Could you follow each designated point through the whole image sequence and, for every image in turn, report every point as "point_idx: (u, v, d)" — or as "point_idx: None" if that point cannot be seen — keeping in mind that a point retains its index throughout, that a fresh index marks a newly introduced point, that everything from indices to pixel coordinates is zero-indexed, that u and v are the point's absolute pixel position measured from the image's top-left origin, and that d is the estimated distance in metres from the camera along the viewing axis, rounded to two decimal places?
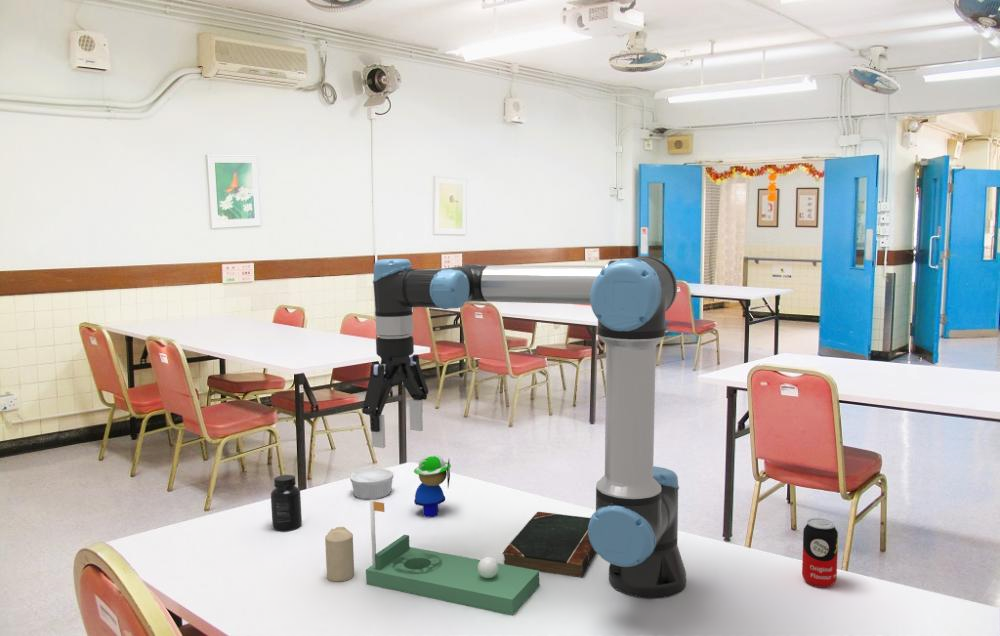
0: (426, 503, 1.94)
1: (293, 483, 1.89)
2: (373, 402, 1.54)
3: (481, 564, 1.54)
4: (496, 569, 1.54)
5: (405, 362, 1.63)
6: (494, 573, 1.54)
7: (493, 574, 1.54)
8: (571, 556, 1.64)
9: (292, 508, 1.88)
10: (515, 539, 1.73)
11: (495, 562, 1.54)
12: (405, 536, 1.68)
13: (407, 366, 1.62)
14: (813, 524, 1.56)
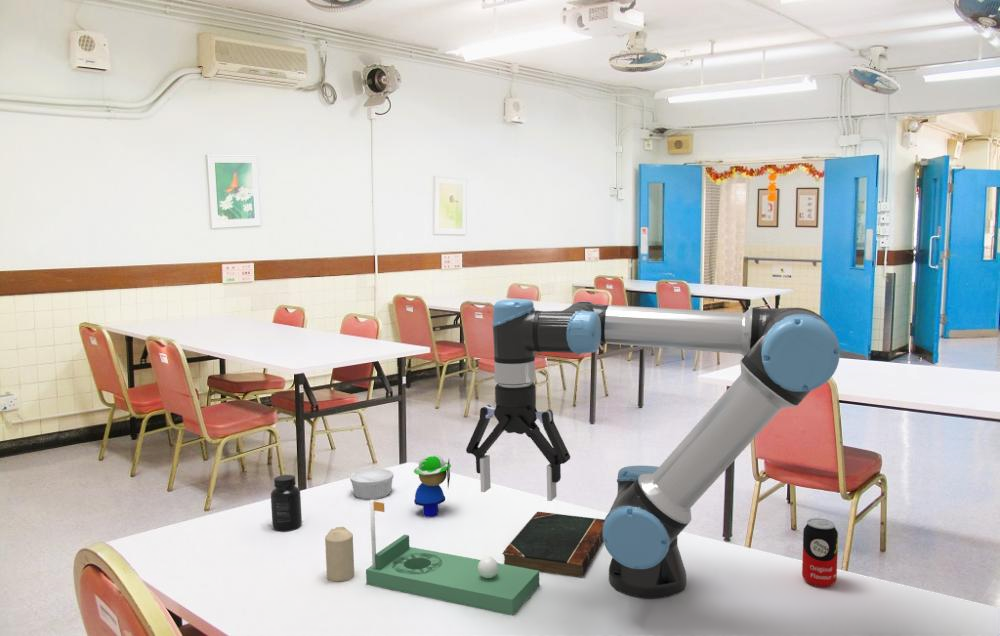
0: (426, 503, 1.94)
1: (293, 483, 1.89)
2: None
3: (481, 564, 1.54)
4: (496, 569, 1.54)
5: (522, 415, 1.47)
6: (494, 573, 1.54)
7: (493, 574, 1.54)
8: (571, 556, 1.64)
9: (292, 508, 1.88)
10: (515, 539, 1.73)
11: (495, 562, 1.54)
12: (405, 536, 1.68)
13: (518, 420, 1.46)
14: (813, 524, 1.56)
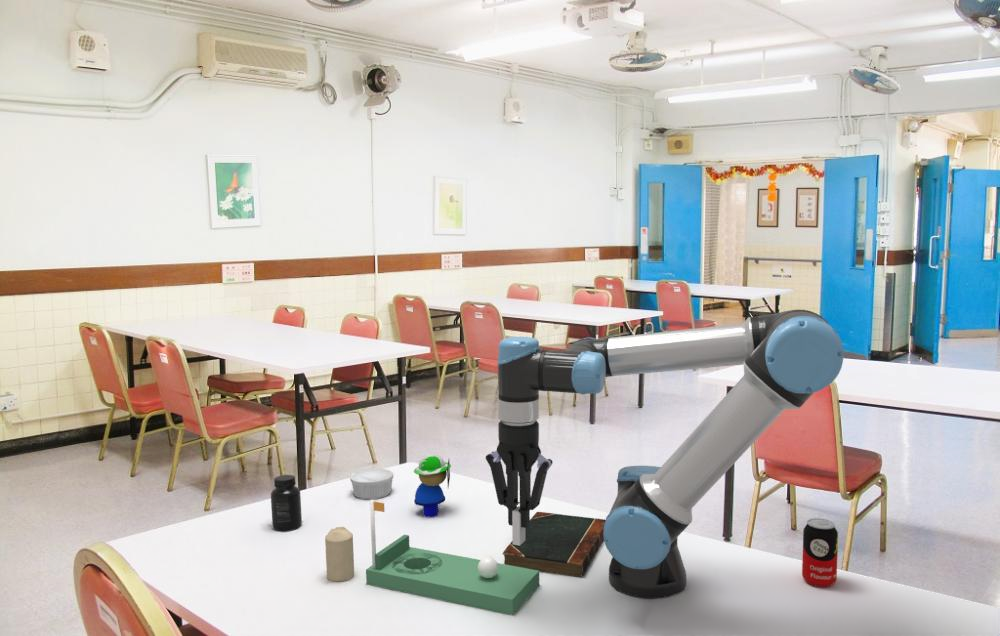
0: (426, 503, 1.94)
1: (293, 483, 1.89)
2: None
3: (481, 564, 1.54)
4: (496, 569, 1.54)
5: (527, 449, 1.47)
6: (494, 573, 1.54)
7: (493, 574, 1.54)
8: (571, 556, 1.64)
9: (292, 508, 1.88)
10: None
11: (495, 562, 1.54)
12: (405, 536, 1.68)
13: (521, 458, 1.47)
14: (813, 524, 1.56)
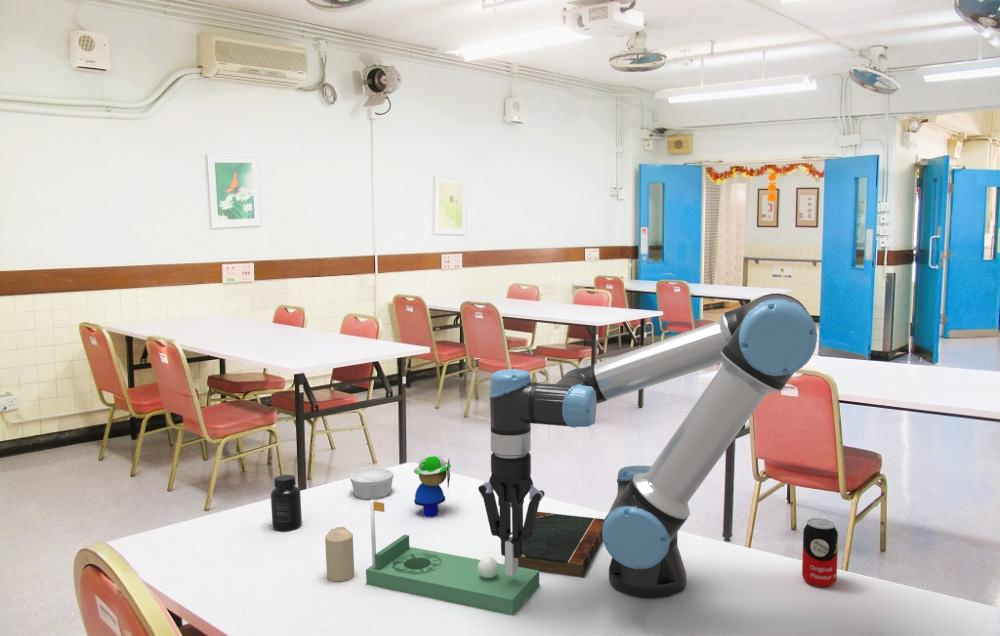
0: (426, 503, 1.94)
1: (293, 483, 1.89)
2: None
3: (481, 564, 1.54)
4: (496, 569, 1.54)
5: (519, 481, 1.48)
6: (494, 573, 1.54)
7: (493, 574, 1.54)
8: (572, 556, 1.64)
9: (292, 508, 1.88)
10: None
11: (495, 562, 1.54)
12: (405, 536, 1.68)
13: (513, 490, 1.48)
14: (813, 524, 1.56)
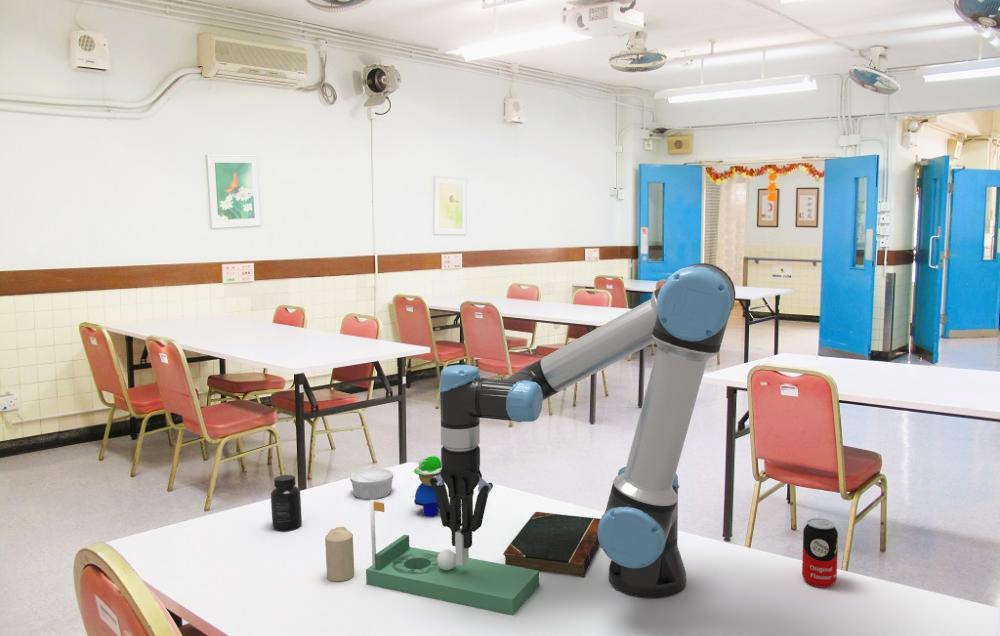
0: (426, 503, 1.94)
1: (293, 483, 1.89)
2: None
3: (448, 562, 1.57)
4: None
5: (468, 474, 1.53)
6: None
7: None
8: (572, 556, 1.64)
9: (292, 508, 1.88)
10: (515, 539, 1.73)
11: None
12: (405, 536, 1.68)
13: (462, 482, 1.53)
14: (813, 524, 1.56)
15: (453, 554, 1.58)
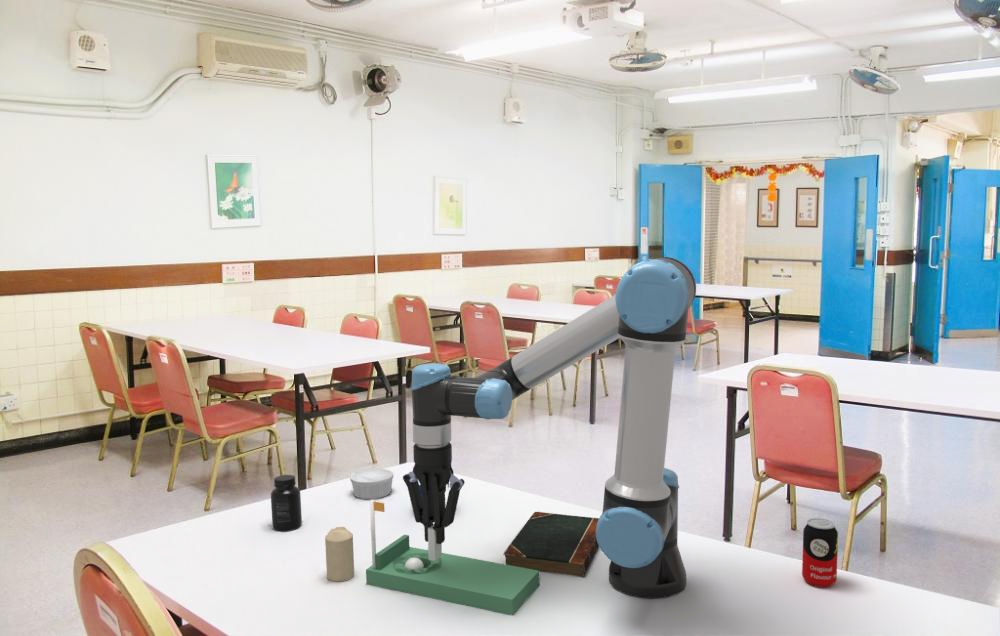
0: None
1: (293, 483, 1.89)
2: None
3: None
4: (405, 563, 1.63)
5: (439, 470, 1.56)
6: (406, 562, 1.62)
7: (407, 561, 1.62)
8: (573, 556, 1.64)
9: (292, 508, 1.88)
10: (515, 540, 1.73)
11: None
12: (405, 536, 1.68)
13: (434, 478, 1.55)
14: (813, 524, 1.56)
15: None
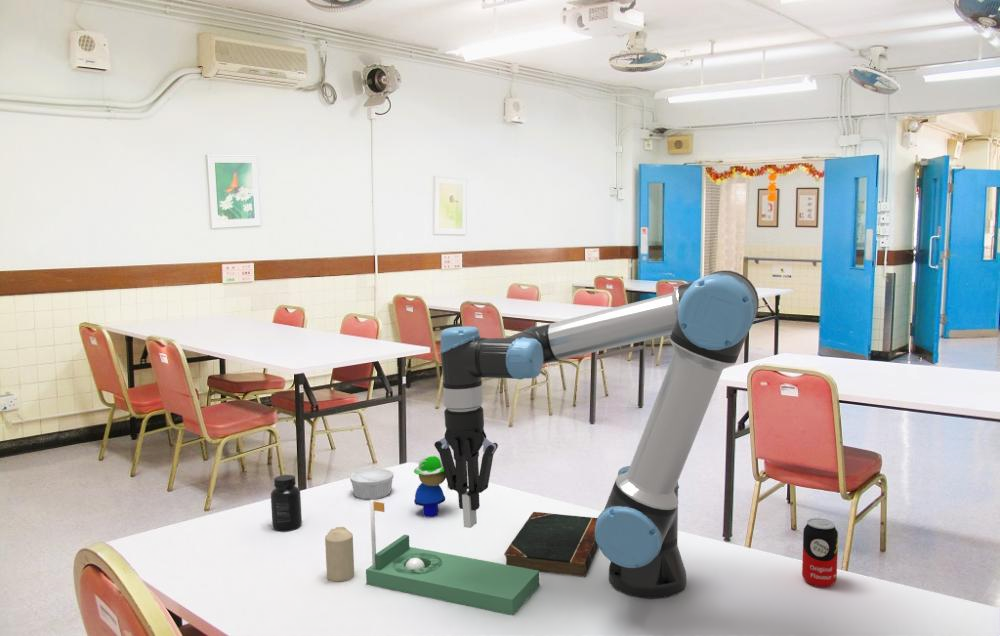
0: (426, 503, 1.94)
1: (293, 483, 1.89)
2: None
3: None
4: (407, 562, 1.62)
5: (472, 434, 1.53)
6: (408, 561, 1.62)
7: (408, 561, 1.62)
8: (573, 555, 1.64)
9: (292, 508, 1.88)
10: (515, 540, 1.73)
11: None
12: (405, 536, 1.68)
13: (467, 443, 1.53)
14: (814, 524, 1.56)
15: None
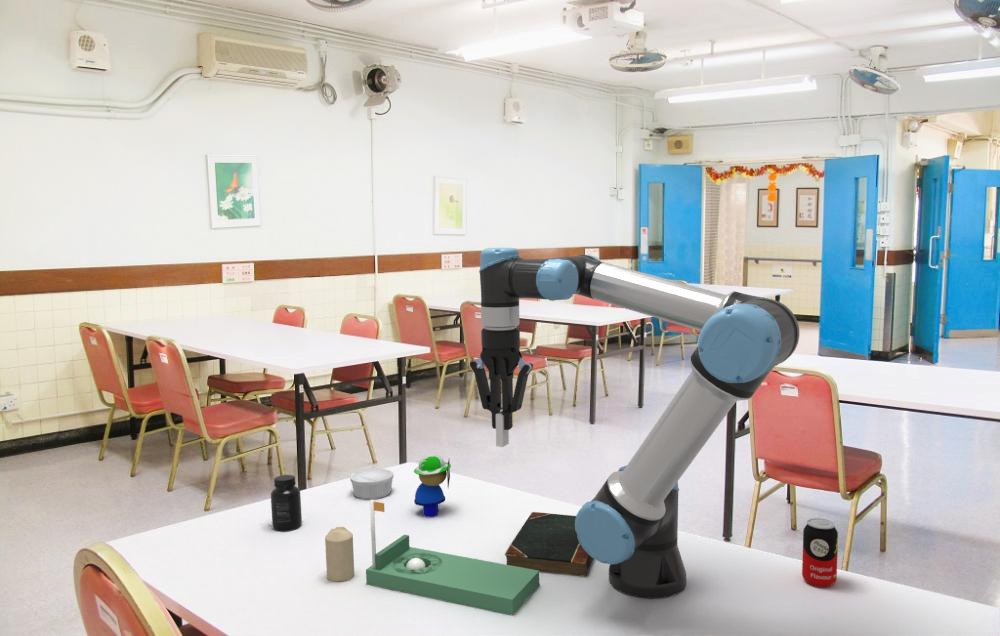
0: (426, 503, 1.94)
1: (293, 483, 1.89)
2: None
3: None
4: (408, 561, 1.62)
5: (508, 354, 1.55)
6: (409, 561, 1.62)
7: (410, 561, 1.61)
8: (574, 555, 1.64)
9: (292, 508, 1.88)
10: (515, 540, 1.73)
11: None
12: (405, 536, 1.68)
13: (503, 362, 1.54)
14: (813, 524, 1.56)
15: None
